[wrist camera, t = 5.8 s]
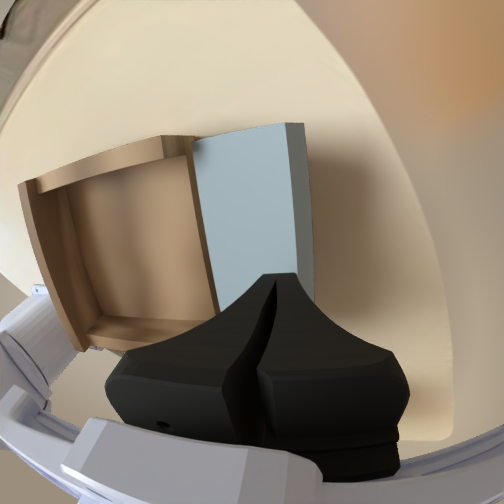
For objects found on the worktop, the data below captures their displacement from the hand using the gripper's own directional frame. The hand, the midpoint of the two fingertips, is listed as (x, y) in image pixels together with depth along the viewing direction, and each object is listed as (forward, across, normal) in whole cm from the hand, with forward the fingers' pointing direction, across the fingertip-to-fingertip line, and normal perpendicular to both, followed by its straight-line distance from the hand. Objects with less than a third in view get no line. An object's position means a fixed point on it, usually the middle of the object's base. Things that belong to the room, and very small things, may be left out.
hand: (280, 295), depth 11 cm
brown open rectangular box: (+8, +11, 0) cm, 14 cm away
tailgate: (+6, +4, 0) cm, 8 cm away
